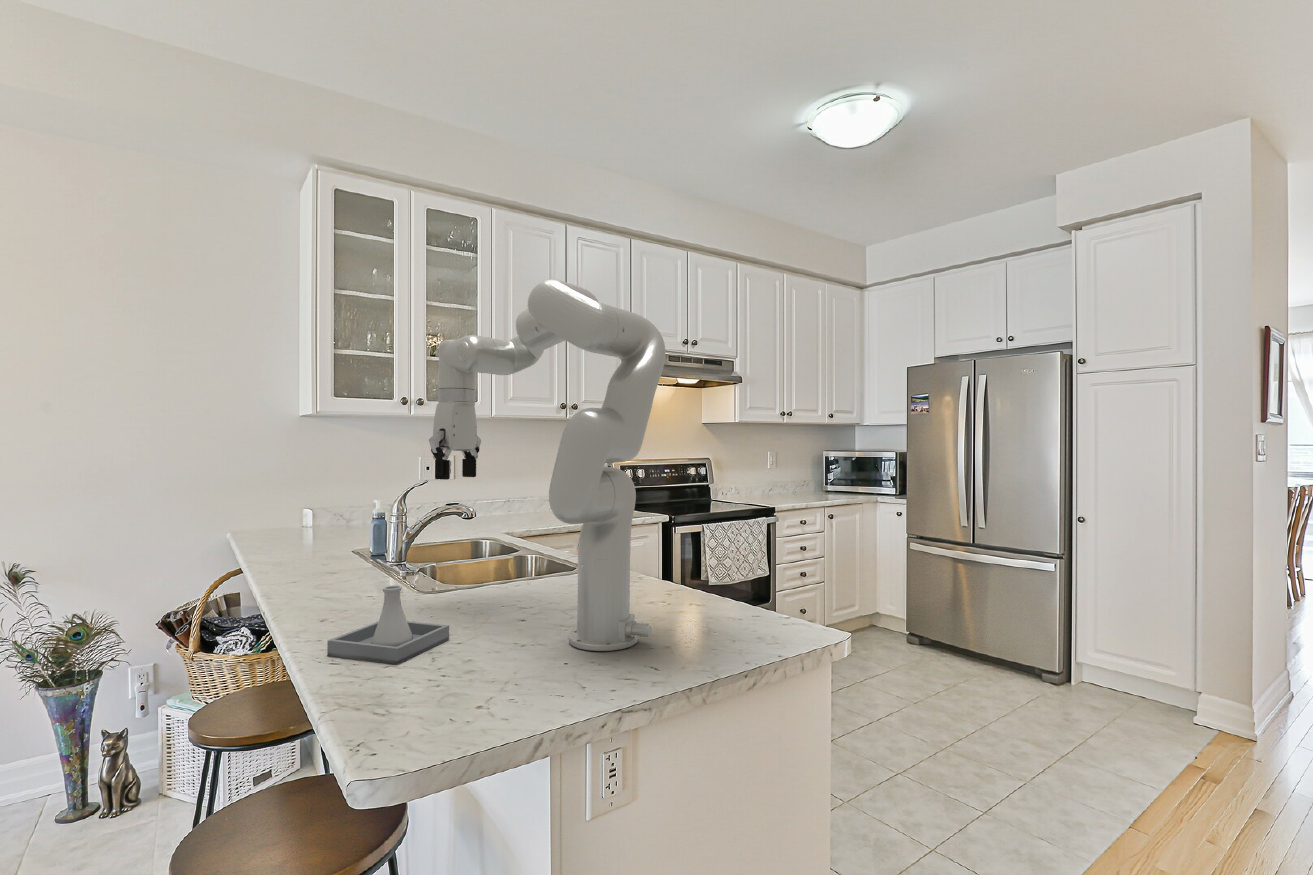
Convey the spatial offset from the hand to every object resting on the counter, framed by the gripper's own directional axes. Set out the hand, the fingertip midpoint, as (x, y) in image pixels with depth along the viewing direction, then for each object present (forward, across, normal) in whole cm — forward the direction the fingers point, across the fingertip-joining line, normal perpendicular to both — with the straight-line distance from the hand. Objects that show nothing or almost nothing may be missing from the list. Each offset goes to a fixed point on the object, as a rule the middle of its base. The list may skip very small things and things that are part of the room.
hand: (456, 478), depth 139 cm
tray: (+28, +25, +4) cm, 38 cm away
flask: (+28, +25, +4) cm, 38 cm away
